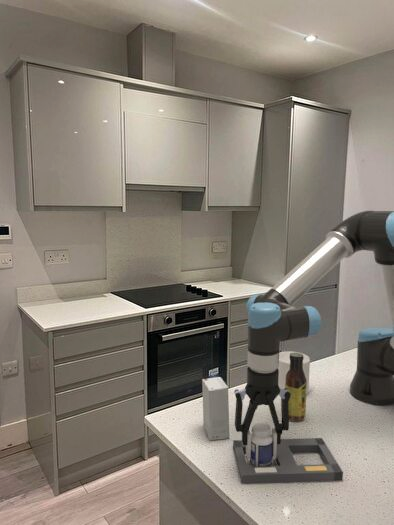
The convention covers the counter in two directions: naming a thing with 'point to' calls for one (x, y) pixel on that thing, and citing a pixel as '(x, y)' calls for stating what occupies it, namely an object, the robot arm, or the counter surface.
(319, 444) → the socket panel
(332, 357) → the counter surface
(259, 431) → the pill bottle
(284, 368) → the cup
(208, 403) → the skincare box
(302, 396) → the sauce bottle
